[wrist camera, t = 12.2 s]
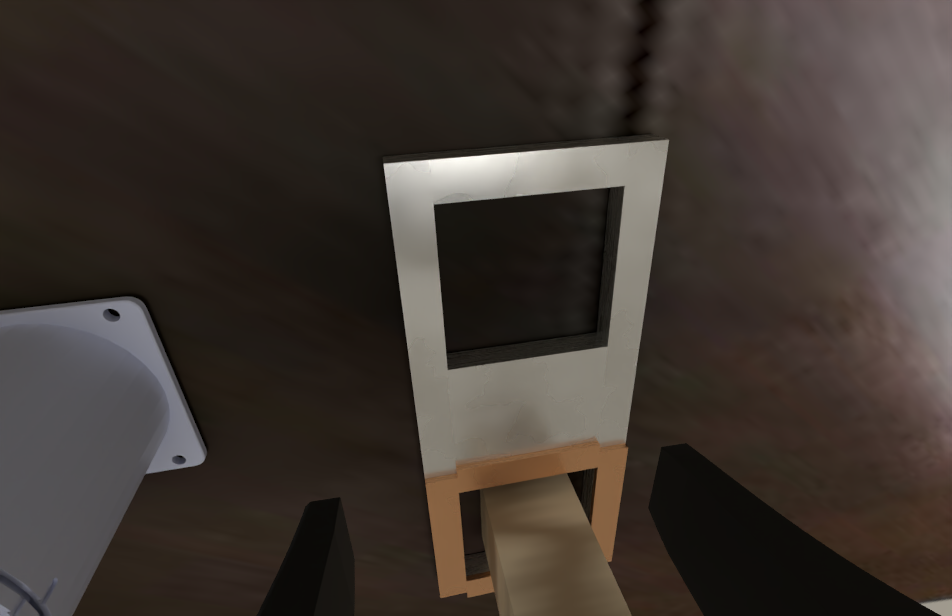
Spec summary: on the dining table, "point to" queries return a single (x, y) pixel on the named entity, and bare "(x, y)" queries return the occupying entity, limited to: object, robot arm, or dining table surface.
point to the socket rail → (531, 363)
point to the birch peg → (545, 552)
